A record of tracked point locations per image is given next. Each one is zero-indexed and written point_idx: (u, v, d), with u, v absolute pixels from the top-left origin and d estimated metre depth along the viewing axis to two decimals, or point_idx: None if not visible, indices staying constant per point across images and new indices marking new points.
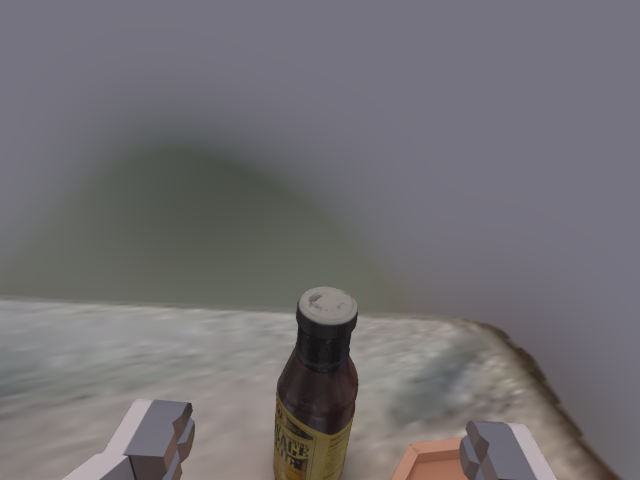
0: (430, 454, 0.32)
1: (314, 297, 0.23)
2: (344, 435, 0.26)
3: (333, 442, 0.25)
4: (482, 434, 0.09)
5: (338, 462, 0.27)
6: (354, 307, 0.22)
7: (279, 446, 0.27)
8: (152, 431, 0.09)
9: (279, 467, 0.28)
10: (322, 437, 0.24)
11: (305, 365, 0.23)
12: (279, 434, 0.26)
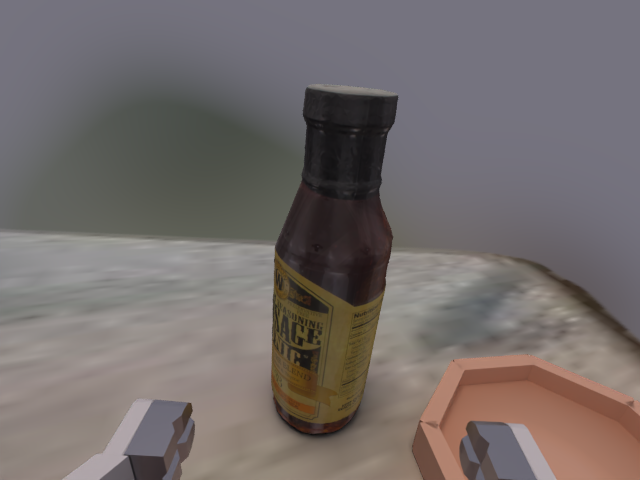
0: (479, 372, 0.24)
1: (330, 86, 0.15)
2: (372, 315, 0.18)
3: (357, 321, 0.17)
4: (482, 434, 0.09)
5: (361, 362, 0.19)
6: None
7: (279, 339, 0.19)
8: (152, 431, 0.09)
9: (279, 375, 0.20)
10: (341, 308, 0.16)
11: (317, 189, 0.15)
12: (278, 319, 0.19)
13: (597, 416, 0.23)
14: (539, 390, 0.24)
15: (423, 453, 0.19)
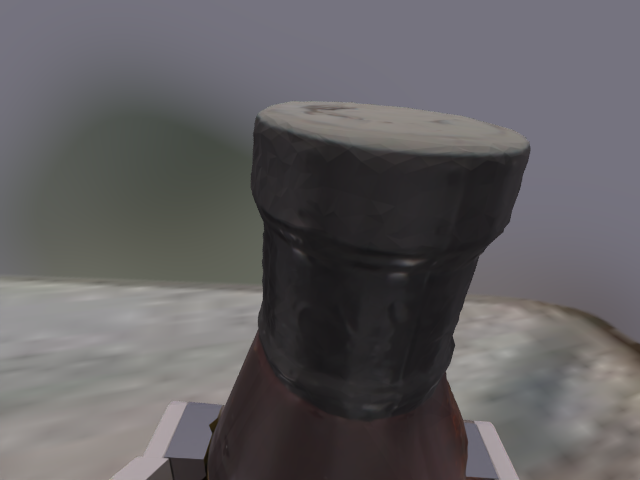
0: None
1: (327, 107, 0.06)
2: None
3: None
4: None
5: None
6: (505, 129, 0.05)
7: None
8: (190, 433, 0.09)
9: None
10: None
11: (291, 384, 0.06)
12: None
13: None
14: None
15: None
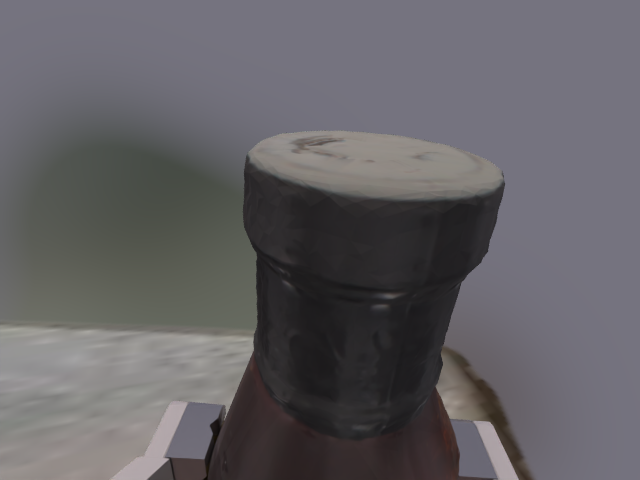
0: None
1: (315, 140, 0.06)
2: None
3: None
4: None
5: None
6: (483, 162, 0.05)
7: None
8: (191, 433, 0.09)
9: None
10: None
11: (284, 405, 0.06)
12: None
13: None
14: None
15: None
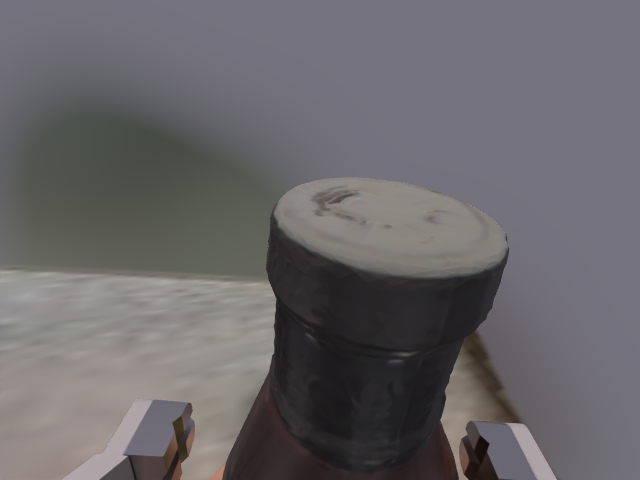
0: None
1: (333, 195, 0.06)
2: None
3: None
4: (482, 434, 0.09)
5: None
6: (488, 223, 0.06)
7: None
8: (152, 431, 0.09)
9: None
10: None
11: (300, 439, 0.06)
12: None
13: None
14: None
15: None
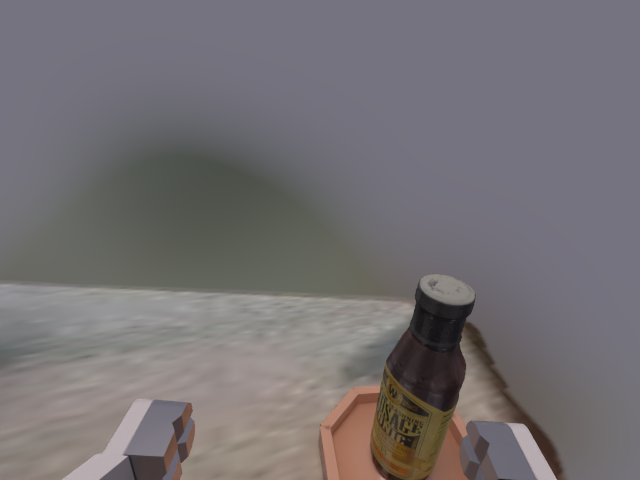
0: (368, 395, 0.39)
1: (432, 283, 0.25)
2: (452, 413, 0.28)
3: (444, 419, 0.27)
4: (482, 434, 0.09)
5: (442, 440, 0.29)
6: (471, 291, 0.25)
7: (387, 426, 0.29)
8: (152, 431, 0.09)
9: (384, 447, 0.30)
10: (437, 414, 0.26)
11: (424, 345, 0.25)
12: (389, 414, 0.28)
13: None
14: None
15: (320, 444, 0.34)
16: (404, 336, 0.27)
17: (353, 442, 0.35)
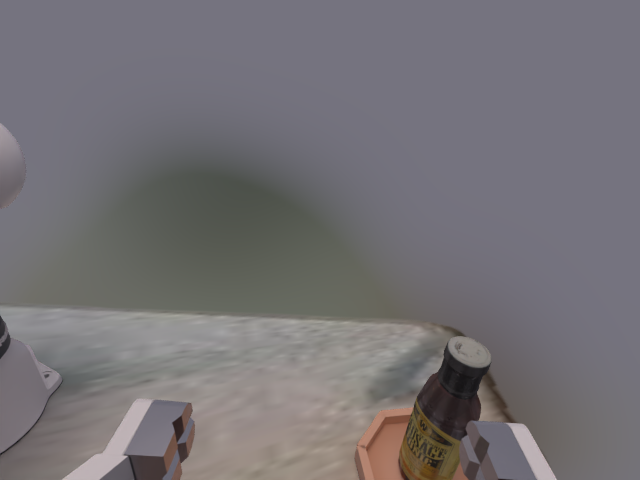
0: (393, 417, 0.46)
1: (457, 346, 0.33)
2: None
3: None
4: (482, 434, 0.09)
5: None
6: (488, 353, 0.32)
7: (417, 450, 0.37)
8: (152, 431, 0.09)
9: (413, 466, 0.38)
10: (458, 444, 0.34)
11: (451, 393, 0.33)
12: (419, 442, 0.36)
13: None
14: None
15: (358, 460, 0.42)
16: (433, 383, 0.35)
17: (383, 459, 0.42)
